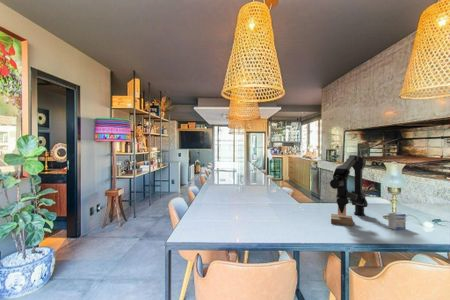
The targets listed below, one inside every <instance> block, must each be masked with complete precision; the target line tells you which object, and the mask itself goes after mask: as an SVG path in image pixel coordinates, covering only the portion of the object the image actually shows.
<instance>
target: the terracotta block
mask: <svg viewBox="0 0 450 300" xmlns="http://www.w3.org/2000/svg"><path fill="white" fill-rule="evenodd" d="M337 215H344V216H346V215H347V204H346V205H345V207H344V211H343V213H341V212H340V209H339V207H338V206H337Z"/></svg>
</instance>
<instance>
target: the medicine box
mask: <svg viewBox="0 0 450 300" xmlns="http://www.w3.org/2000/svg"><path fill="white" fill-rule="evenodd" d="M406 216H407V215H406V213H402V212H390V213H388V217H387V218H388V219H387V221H388V229H392V230H394V231H398V230H399V231H400V230H405V229H406V228H407V227H406V225H407V223H406V220H407V219H406V218H407V217H406Z"/></svg>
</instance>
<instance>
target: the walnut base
mask: <svg viewBox="0 0 450 300" xmlns="http://www.w3.org/2000/svg"><path fill="white" fill-rule="evenodd" d="M330 224H333V225H340V226H349V227H354V219H353V216H352V215H347V214H346V216H344V215H338V213H337V214H336V213H331V215H330Z"/></svg>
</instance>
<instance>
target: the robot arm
mask: <svg viewBox="0 0 450 300" xmlns="http://www.w3.org/2000/svg"><path fill="white" fill-rule="evenodd" d="M366 164H367V161H366V159H365V158H364V157H362V156H359V155H355V154H350V155H349V156H348V158H347V159H346V160H345V162H343V163H342V164H340V165H338V166H336V168H335V170H334V172H333V175H332V179H331V180H330V182H329V187H331V188H332V189H333V190H336V204H337V208H338V207H339V209H340V212H341V213H343V211H344V207H345V205H346V206H347V205H348V204H349V199H351V206H354V211H353V214H354V216H362V217H366V213H365V208H367V207H368V206H369V205H368V204H369V203H368V201H367V199H366V195H365V193H364V192H363V191H364V190H363V170H364V169H365V168H366ZM351 169H353V171H354V190H351V191H349V189H348V180H349V176H350V174H351V171H350V170H351Z"/></svg>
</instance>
